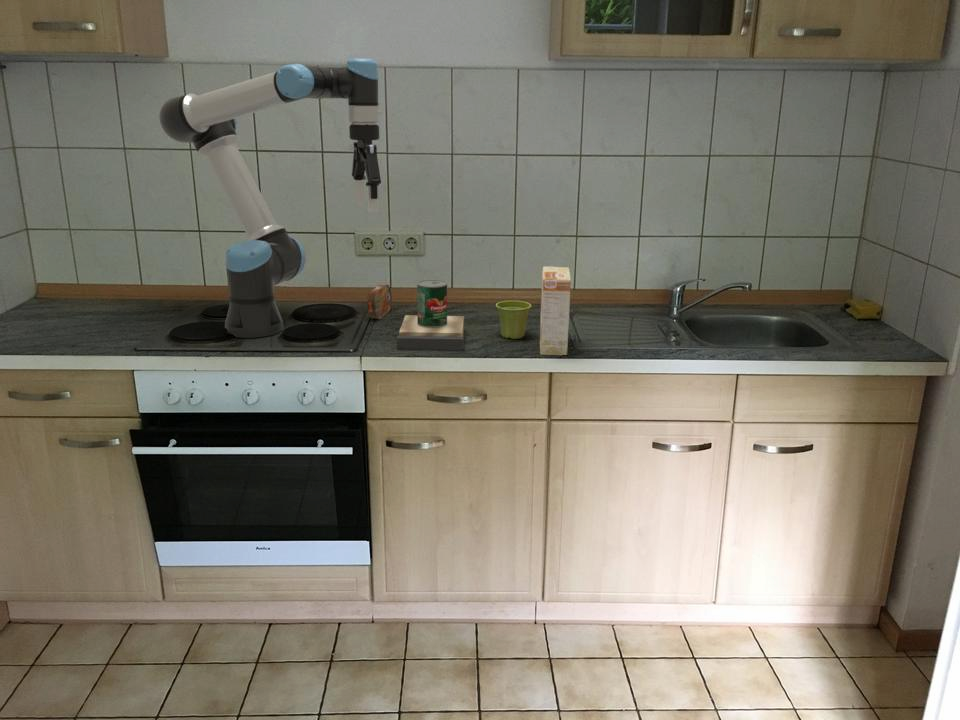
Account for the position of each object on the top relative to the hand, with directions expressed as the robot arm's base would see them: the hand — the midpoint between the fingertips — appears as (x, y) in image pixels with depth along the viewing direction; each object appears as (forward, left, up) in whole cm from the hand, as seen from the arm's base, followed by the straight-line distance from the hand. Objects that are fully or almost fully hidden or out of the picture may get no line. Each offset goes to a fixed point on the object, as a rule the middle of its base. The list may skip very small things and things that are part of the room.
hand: (366, 208), depth 204 cm
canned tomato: (+15, +13, -29) cm, 35 cm away
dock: (+15, +13, -33) cm, 38 cm away
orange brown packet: (-12, +6, -33) cm, 36 cm away
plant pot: (+20, +34, -33) cm, 51 cm away
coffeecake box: (+32, +40, -33) cm, 61 cm away
